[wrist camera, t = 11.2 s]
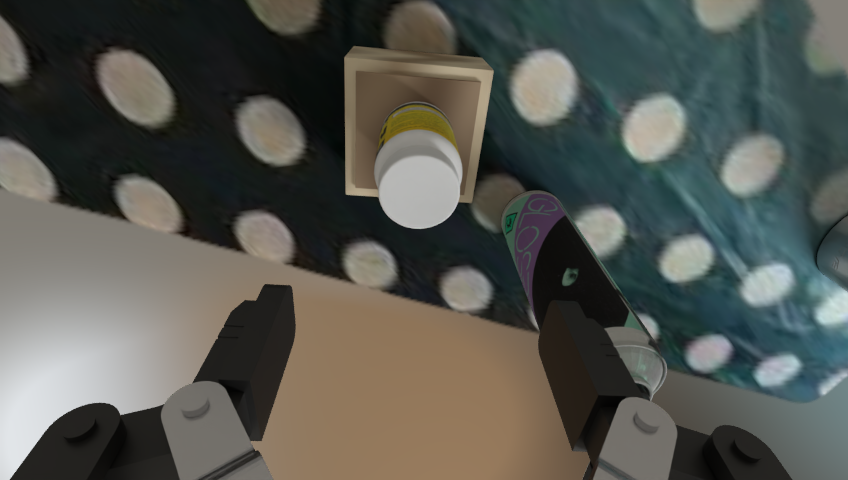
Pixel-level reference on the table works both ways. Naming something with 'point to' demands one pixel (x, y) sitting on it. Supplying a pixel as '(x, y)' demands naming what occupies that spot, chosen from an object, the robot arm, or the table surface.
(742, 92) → the table surface
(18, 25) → the table surface
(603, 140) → the table surface
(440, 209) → the supplement bottle
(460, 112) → the base block
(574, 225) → the spray can
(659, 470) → the robot arm
